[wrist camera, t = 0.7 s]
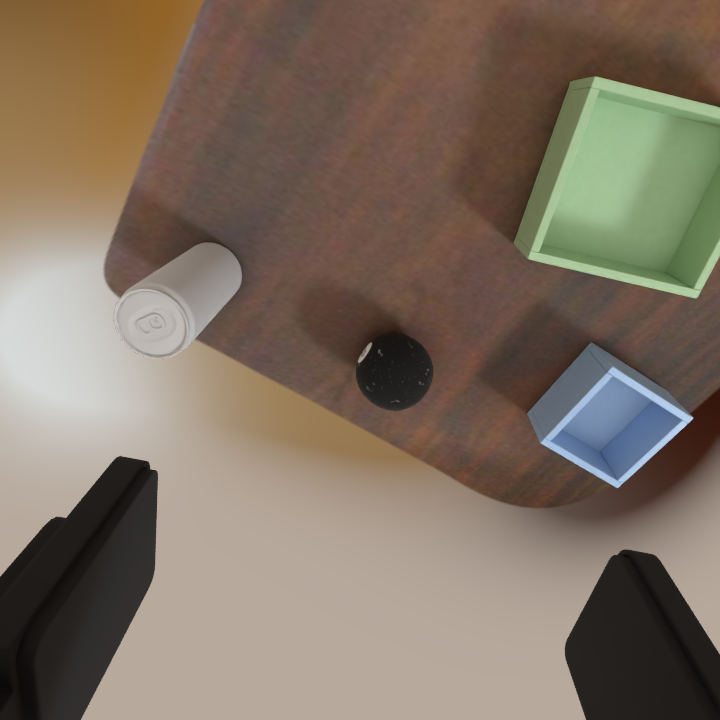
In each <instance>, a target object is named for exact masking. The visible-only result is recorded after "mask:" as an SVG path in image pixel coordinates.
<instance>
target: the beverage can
mask: <svg viewBox="0 0 720 720" xmlns="http://www.w3.org/2000/svg"><path fill="white" fill-rule="evenodd" d="M241 280H242V272H241V267H240V264H239V262H238V260H237V259H236V257H235V256H234V254H233V253H232V252H230V251H229V250H228V249H227V248H225V247H223V246H221V245H219V244H215V243H201V244H198V245H195V246H194V247H192V248H191V249H189V250H188V251H186V252H185V253H183V254H182V255H180V256H179V257H177V258H176V259H174V260H172V261H171V262H169V263H168V264H166V265H165V266H163V267H162V268H160V269H158V270H157V271H155V272H154V273H152V274H151V275H149V276H148V277H146V278H144V279H143V280H141V281H140V282H138V283H137V284H135V285H134V286H132V287H131V288H129V289H128V290H127V291H126V292H125V293H124V294H123V296H122V297H121V298H120V300H119V301H118V302H117V304H116V307H115V310H114V324H115V328H116V331H117V333H118V334H119V337H120V338H121V340H122V341H123V342H124V343H125V344H126V346H127V347H129V348H130V349H131V350H133V351H134V352H135V353H137V354H139V355H142V356H143V357H147V358H151V359H166V358H169V357H172V356H174V355H176V354H178V353H180V352H181V351H183V350H185V349H186V348H187V347H188V346H189V345H190V343H191V342H192V341H193V340H194V339H195V338H196V337H197V336H198V334H199V333H200V332H201V331H202V330H203V329H204V328H205V327H206V326H207V324H208V323H209V322H210V321H211V320H212V319H213V318H214V317H215V315H216V314H217V313H218V312H219V311H220V310H221V309H222V308H223V306H224V305H225V304H226V303H227V302H228V301H229V300H230V299H231V298H232V296H233V295H234V294H235V293H236V292H237V291H238V289H239V287H240V285H241Z"/></svg>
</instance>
